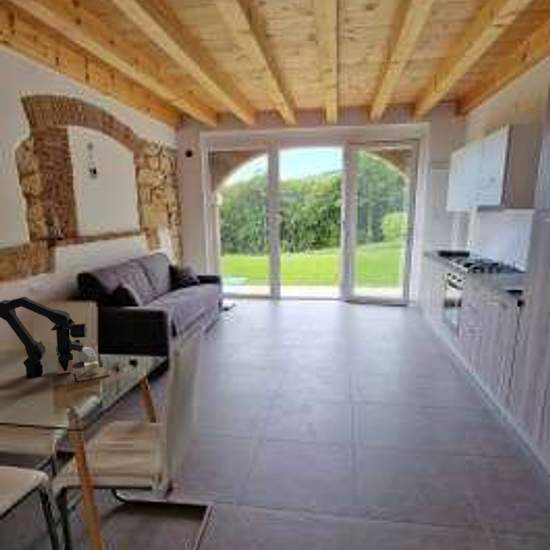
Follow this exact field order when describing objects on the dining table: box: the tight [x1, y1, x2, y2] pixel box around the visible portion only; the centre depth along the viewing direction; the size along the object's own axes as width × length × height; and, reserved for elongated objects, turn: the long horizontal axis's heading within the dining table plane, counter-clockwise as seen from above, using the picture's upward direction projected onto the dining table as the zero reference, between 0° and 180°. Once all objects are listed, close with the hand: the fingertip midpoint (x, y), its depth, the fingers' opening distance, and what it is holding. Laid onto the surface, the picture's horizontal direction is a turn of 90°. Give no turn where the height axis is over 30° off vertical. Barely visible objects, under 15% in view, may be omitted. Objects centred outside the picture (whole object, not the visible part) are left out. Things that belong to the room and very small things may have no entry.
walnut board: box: [74, 366, 111, 382], centre depth 199 cm, size 14×12×1 cm
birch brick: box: [83, 360, 100, 376], centre depth 199 cm, size 6×4×5 cm, turn 121°
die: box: [76, 346, 97, 364], centre depth 215 cm, size 8×9×10 cm
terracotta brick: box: [57, 360, 74, 375], centre depth 200 cm, size 6×4×5 cm, turn 121°
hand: (65, 369), depth 200 cm, fingers closed on terracotta brick, 4 cm apart
